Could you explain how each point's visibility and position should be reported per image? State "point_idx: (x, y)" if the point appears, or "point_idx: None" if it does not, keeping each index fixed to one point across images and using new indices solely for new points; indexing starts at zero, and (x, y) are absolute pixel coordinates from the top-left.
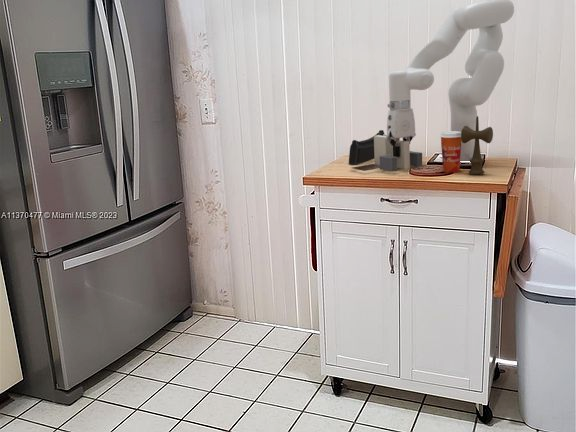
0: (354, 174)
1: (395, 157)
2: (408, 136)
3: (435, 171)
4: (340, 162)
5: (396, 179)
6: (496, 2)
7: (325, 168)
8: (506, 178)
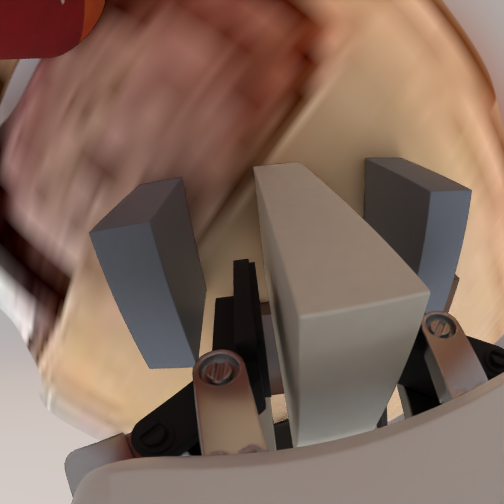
0: (466, 287)
1: (441, 192)
2: (288, 449)
3: (122, 54)
4: None
5: (446, 44)
6: None
7: None
8: None
